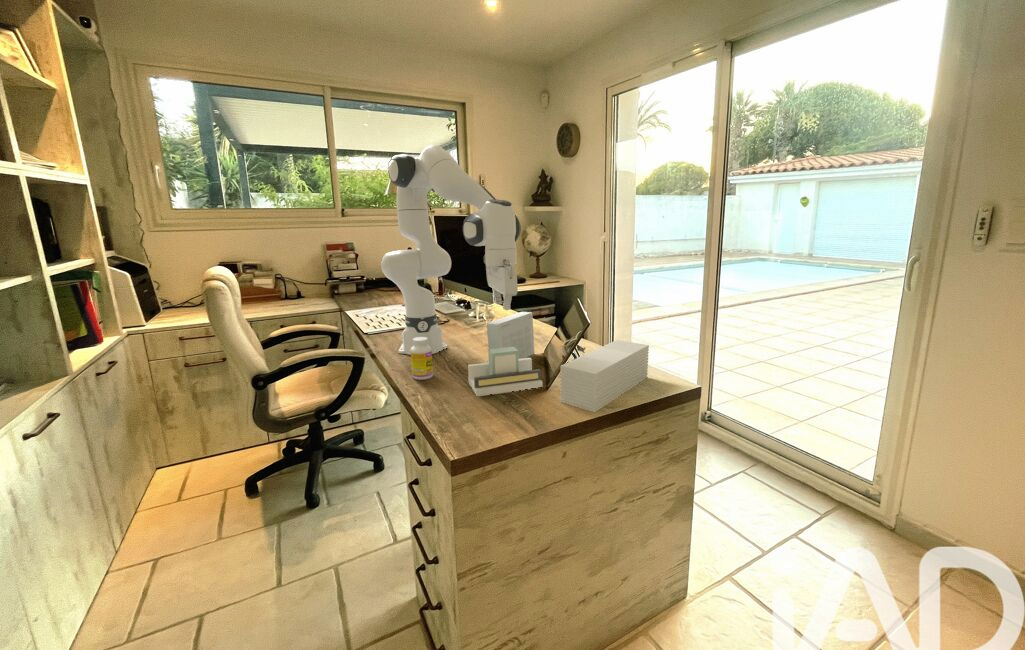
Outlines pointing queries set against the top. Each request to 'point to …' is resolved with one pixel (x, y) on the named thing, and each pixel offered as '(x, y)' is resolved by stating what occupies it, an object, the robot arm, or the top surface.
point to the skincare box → (513, 333)
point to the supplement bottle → (421, 359)
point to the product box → (503, 360)
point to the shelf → (503, 378)
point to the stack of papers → (603, 374)
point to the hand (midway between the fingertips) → (502, 306)
